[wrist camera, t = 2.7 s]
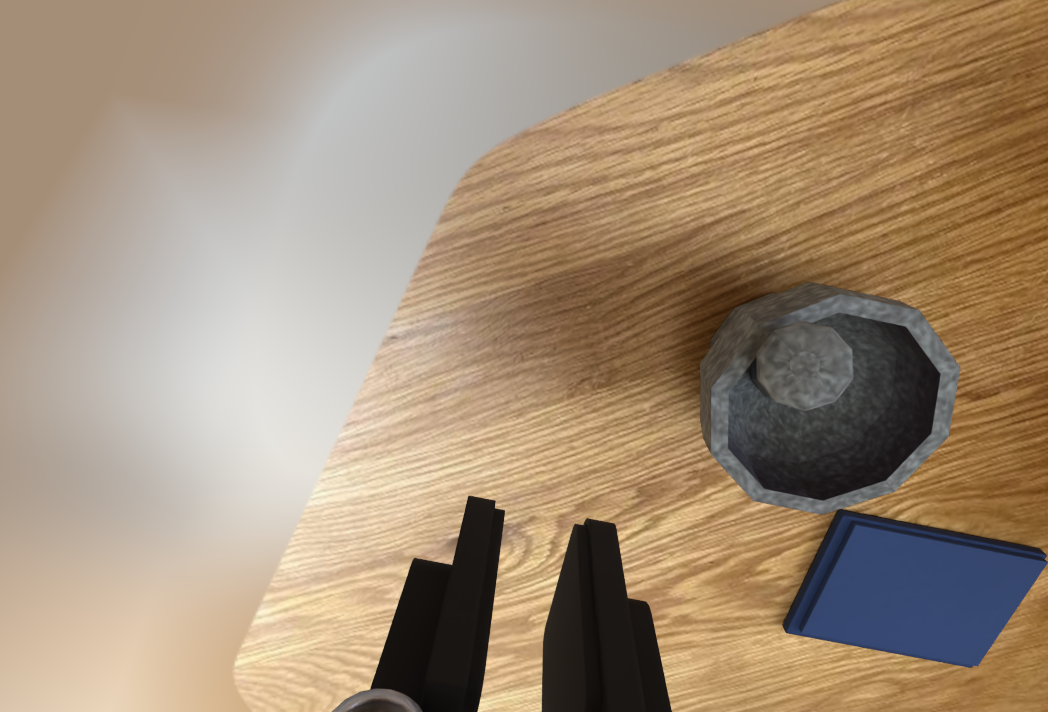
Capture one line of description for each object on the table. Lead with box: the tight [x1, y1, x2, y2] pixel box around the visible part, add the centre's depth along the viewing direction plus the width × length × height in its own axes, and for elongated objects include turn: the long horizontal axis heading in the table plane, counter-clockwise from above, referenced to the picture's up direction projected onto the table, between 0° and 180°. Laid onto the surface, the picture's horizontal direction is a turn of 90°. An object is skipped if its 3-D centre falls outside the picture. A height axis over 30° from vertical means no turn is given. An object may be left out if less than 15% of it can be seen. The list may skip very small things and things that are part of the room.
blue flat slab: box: [783, 510, 1048, 668], centre depth 34 cm, size 12×9×1 cm
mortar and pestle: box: [700, 282, 960, 515], centre depth 23 cm, size 11×9×12 cm
